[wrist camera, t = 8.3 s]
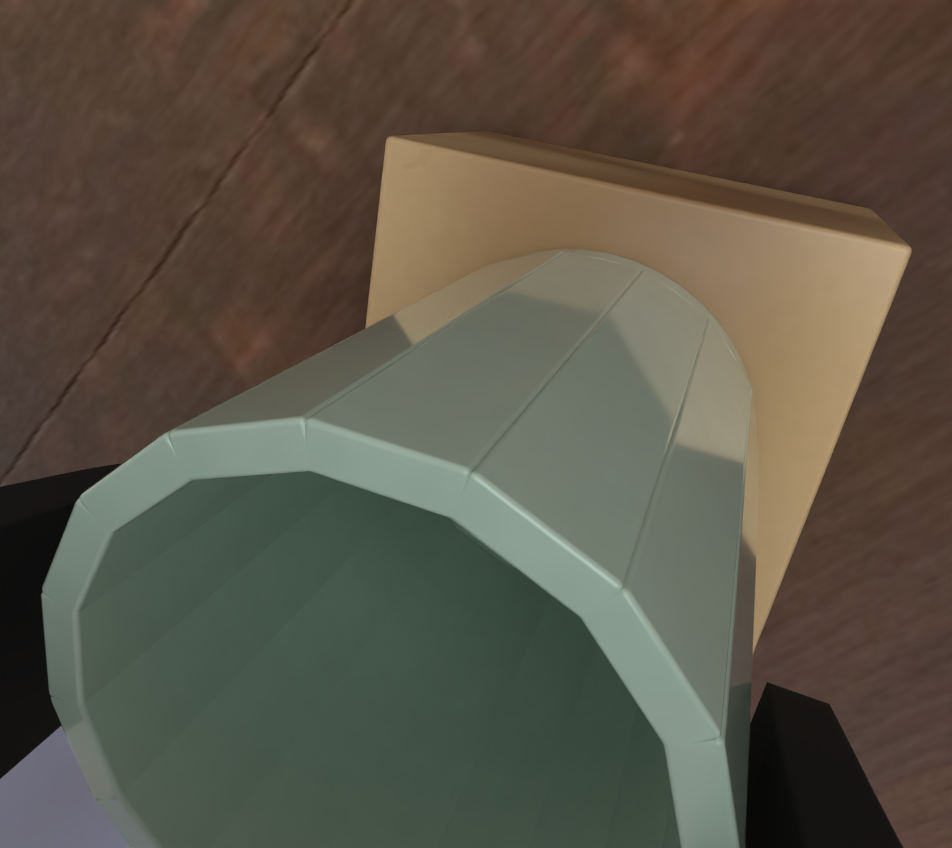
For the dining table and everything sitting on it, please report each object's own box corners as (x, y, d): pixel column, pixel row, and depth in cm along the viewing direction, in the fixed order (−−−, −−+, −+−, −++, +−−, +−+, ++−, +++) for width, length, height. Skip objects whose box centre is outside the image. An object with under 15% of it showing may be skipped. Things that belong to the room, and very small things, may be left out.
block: (432, 455, 20) (338, 549, 16) (484, 129, 17) (384, 134, 13) (746, 555, 18) (738, 692, 14) (874, 208, 15) (915, 247, 11)
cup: (388, 523, 15) (61, 869, 8) (431, 211, 13) (16, 327, 6) (697, 628, 14) (618, 1158, 7) (812, 299, 11) (876, 598, 4)
